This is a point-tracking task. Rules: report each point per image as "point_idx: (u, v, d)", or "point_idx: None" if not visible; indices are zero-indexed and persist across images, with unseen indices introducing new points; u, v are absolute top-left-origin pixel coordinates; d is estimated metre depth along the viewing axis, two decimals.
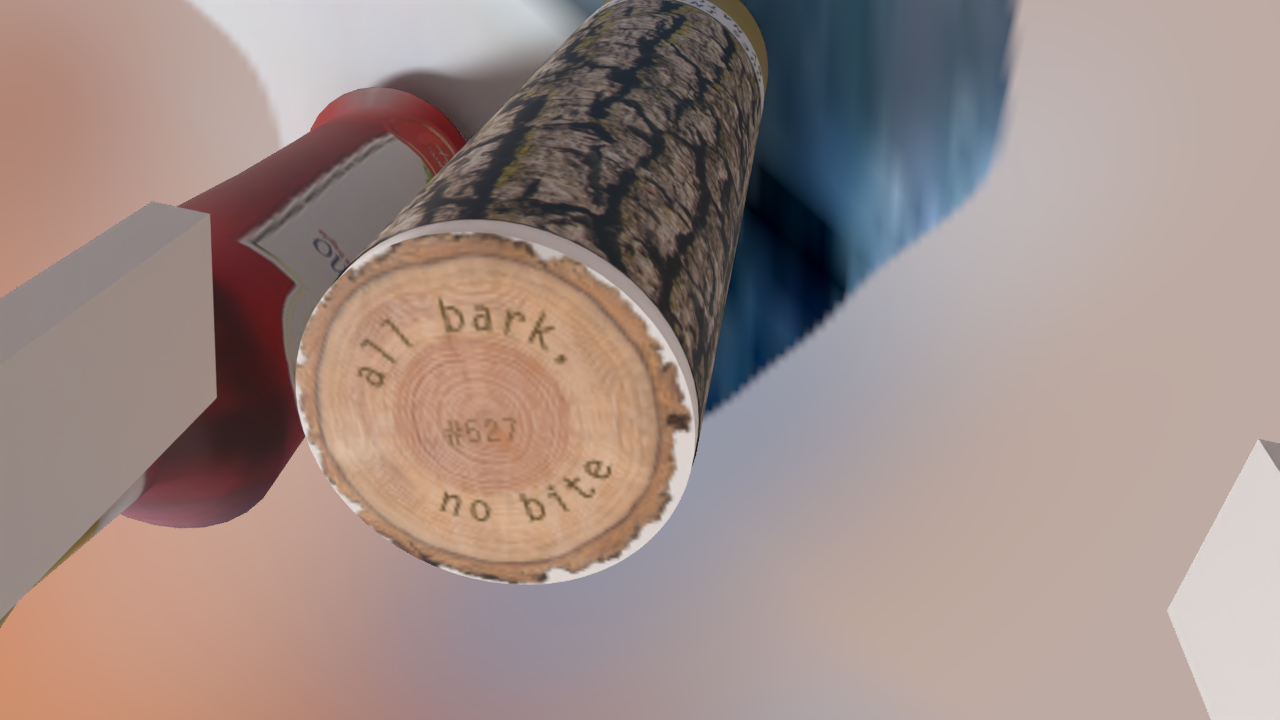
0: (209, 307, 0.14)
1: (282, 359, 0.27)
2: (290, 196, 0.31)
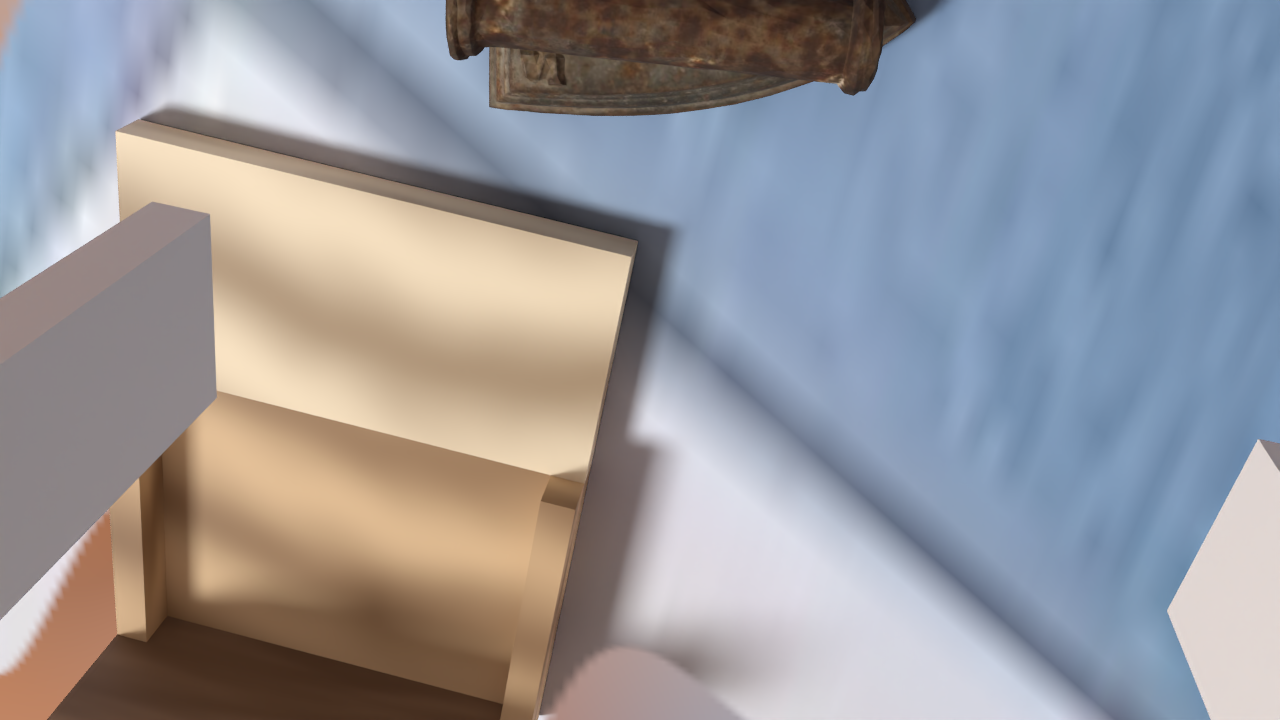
0: (209, 307, 0.14)
1: None
2: None
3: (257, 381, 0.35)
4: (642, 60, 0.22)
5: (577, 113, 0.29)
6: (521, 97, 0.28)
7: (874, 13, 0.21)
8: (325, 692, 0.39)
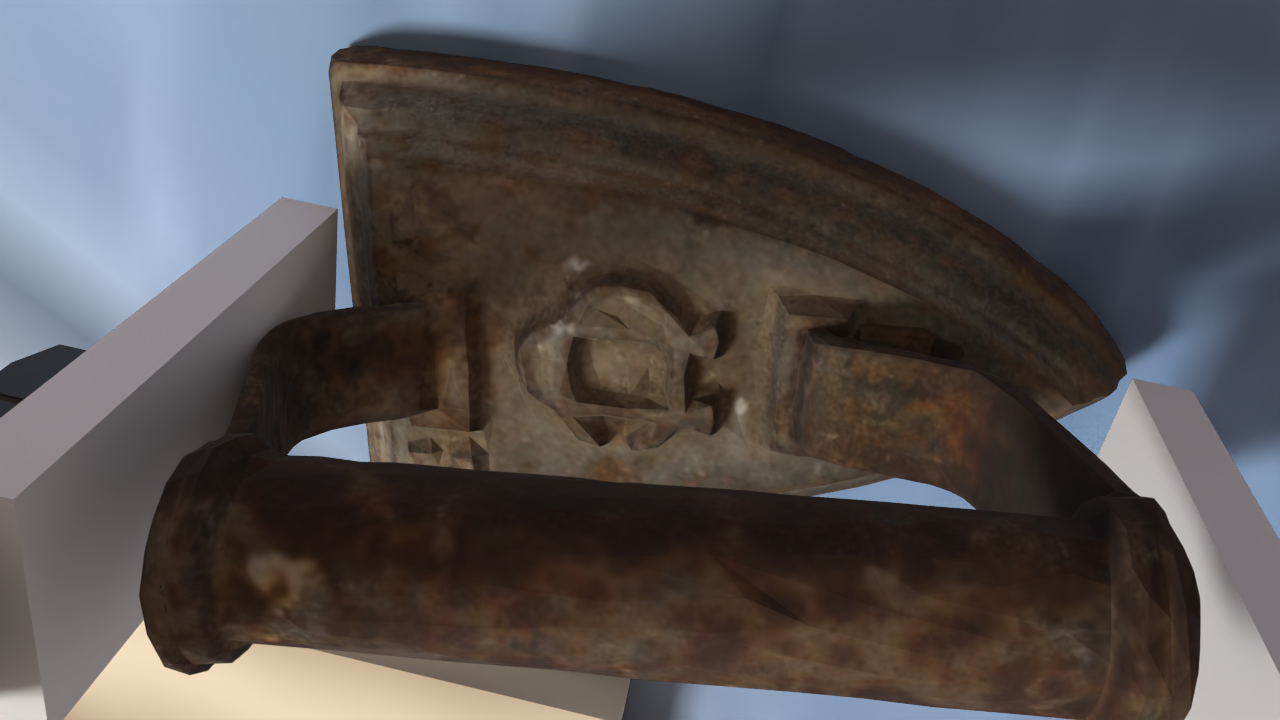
0: (332, 298, 0.15)
1: None
2: None
3: None
4: None
5: None
6: None
7: (1175, 622, 0.08)
8: None
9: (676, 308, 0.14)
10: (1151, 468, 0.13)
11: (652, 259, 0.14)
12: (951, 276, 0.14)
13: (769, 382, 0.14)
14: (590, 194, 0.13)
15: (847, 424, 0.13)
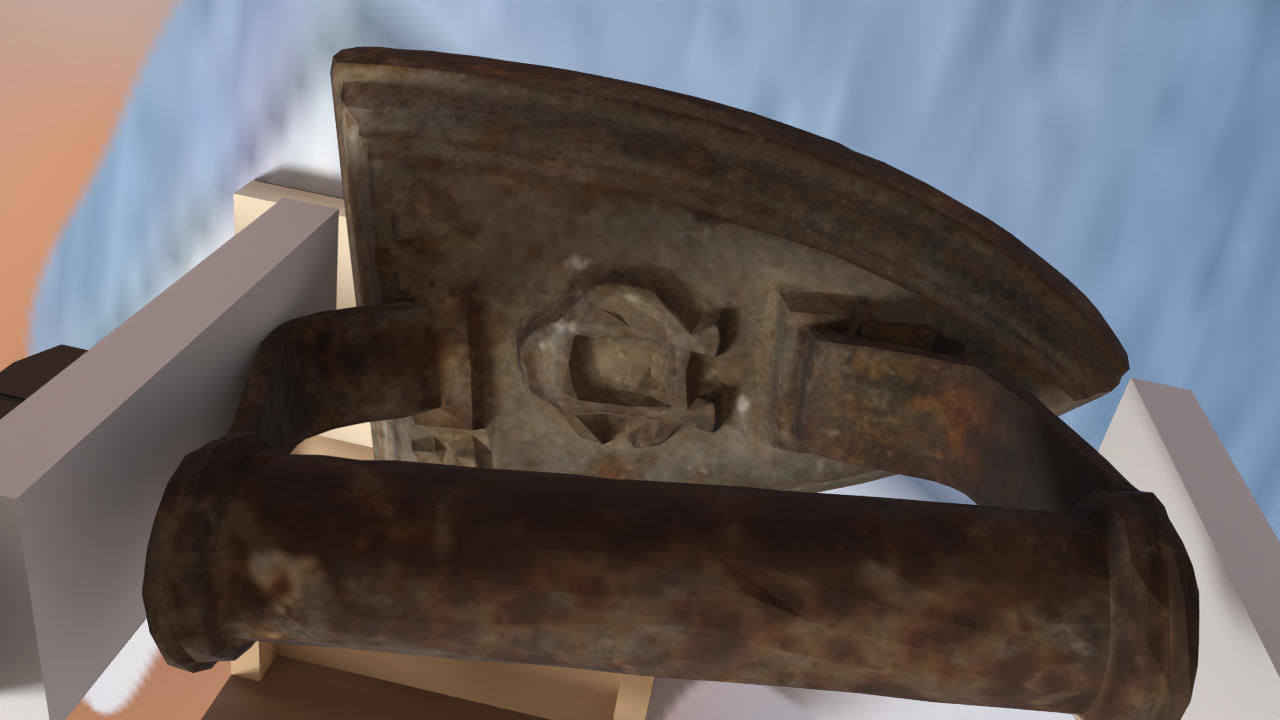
0: (333, 298, 0.15)
1: None
2: None
3: (368, 427, 0.36)
4: None
5: None
6: None
7: (1173, 616, 0.08)
8: None
9: (678, 305, 0.14)
10: (1150, 467, 0.13)
11: (652, 257, 0.14)
12: (952, 272, 0.14)
13: (772, 379, 0.14)
14: (591, 192, 0.13)
15: (848, 421, 0.13)
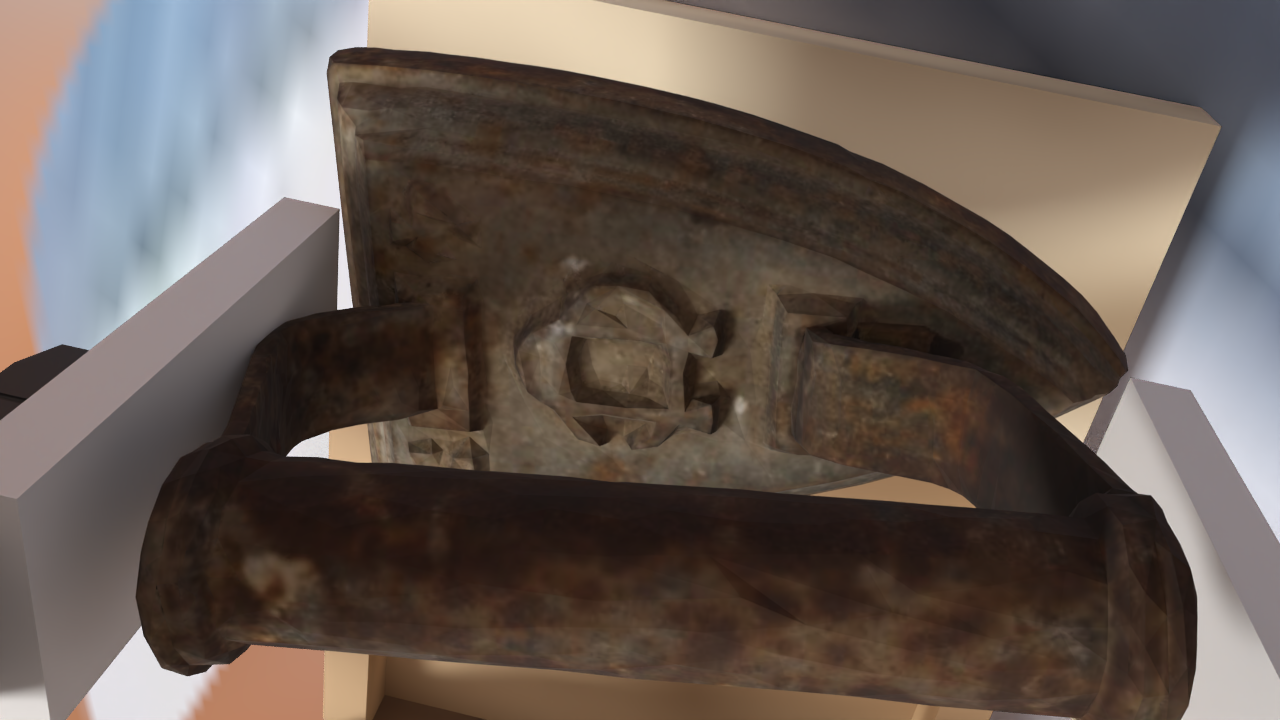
0: (334, 298, 0.15)
1: None
2: None
3: None
4: None
5: None
6: None
7: (1171, 620, 0.08)
8: None
9: (675, 307, 0.14)
10: (1148, 468, 0.13)
11: (650, 258, 0.14)
12: (950, 274, 0.14)
13: (769, 380, 0.14)
14: (588, 193, 0.13)
15: (846, 422, 0.13)
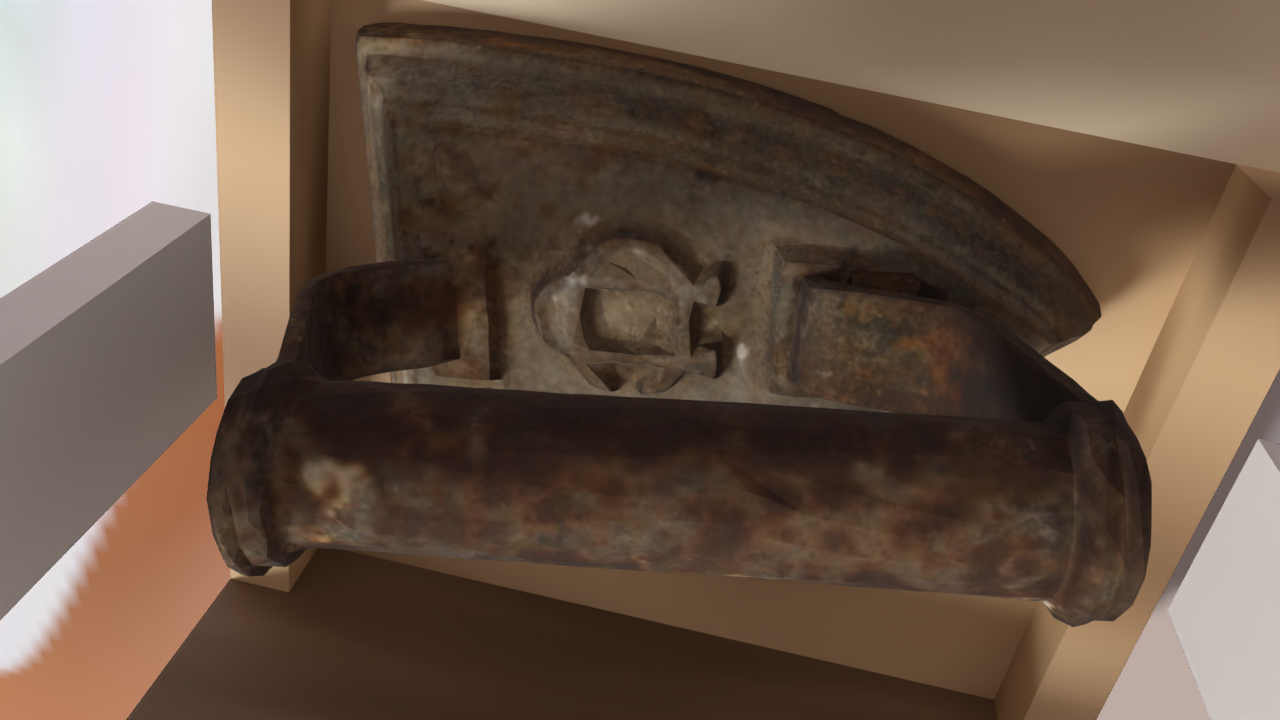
0: (209, 307, 0.14)
1: None
2: None
3: None
4: None
5: None
6: None
7: (1129, 502, 0.09)
8: (653, 683, 0.19)
9: (681, 258, 0.15)
10: None
11: (657, 213, 0.15)
12: (935, 225, 0.15)
13: (768, 327, 0.15)
14: (600, 152, 0.14)
15: (841, 362, 0.14)
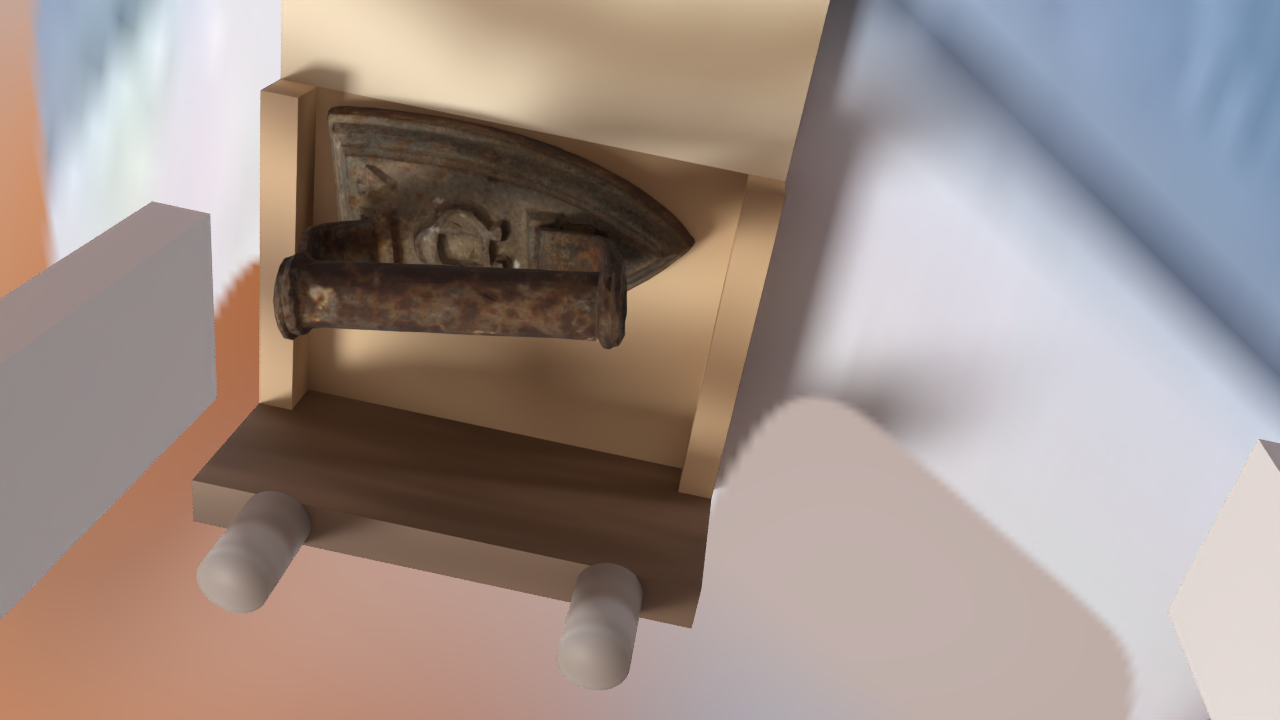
0: (209, 307, 0.14)
1: None
2: None
3: (426, 83, 0.32)
4: None
5: None
6: None
7: (612, 294, 0.26)
8: (490, 454, 0.36)
9: (483, 218, 0.31)
10: None
11: (471, 197, 0.31)
12: (602, 202, 0.31)
13: (527, 251, 0.32)
14: (442, 169, 0.31)
15: (555, 265, 0.31)
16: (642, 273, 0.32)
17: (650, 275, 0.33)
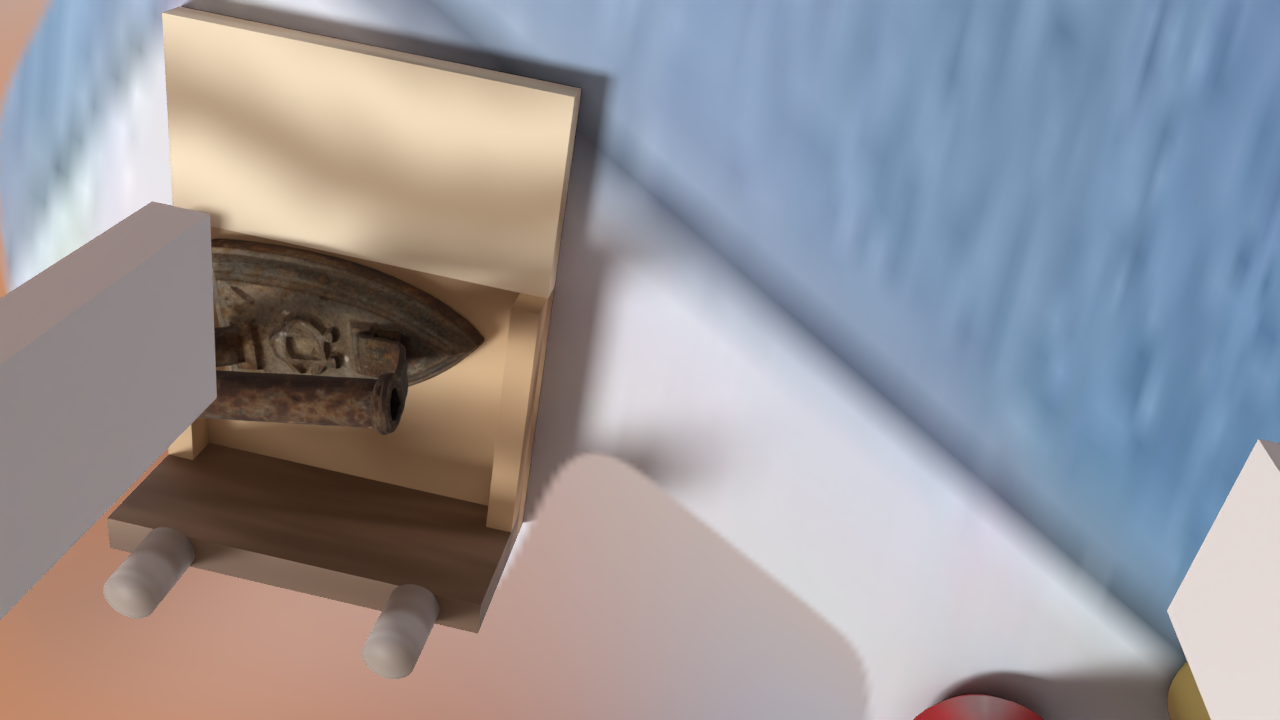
0: (209, 307, 0.14)
1: None
2: None
3: (279, 223, 0.42)
4: (264, 421, 0.38)
5: None
6: None
7: (380, 398, 0.37)
8: (342, 496, 0.46)
9: (318, 326, 0.42)
10: None
11: (309, 310, 0.42)
12: (406, 314, 0.42)
13: (353, 350, 0.42)
14: (286, 290, 0.42)
15: (369, 362, 0.42)
16: (441, 365, 0.43)
17: (450, 365, 0.43)
